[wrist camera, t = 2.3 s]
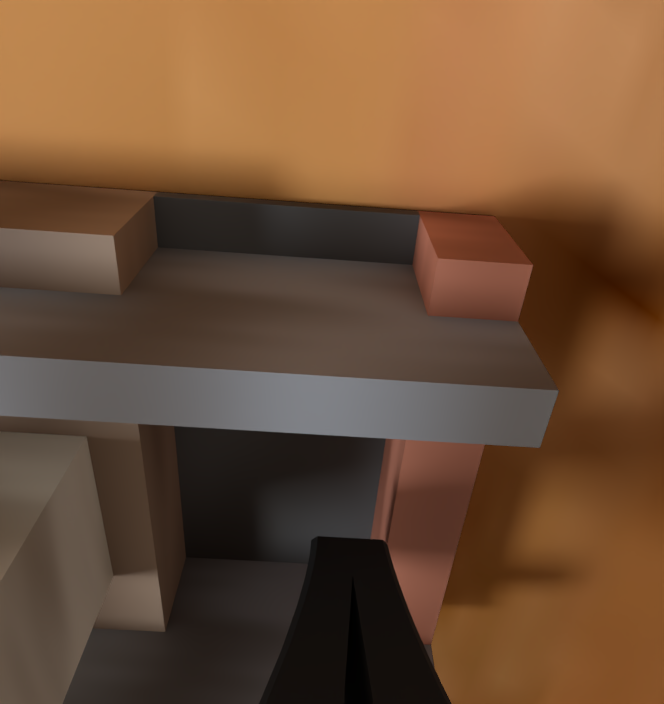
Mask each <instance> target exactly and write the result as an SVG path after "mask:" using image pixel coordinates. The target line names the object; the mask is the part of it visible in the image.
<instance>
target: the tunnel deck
mask: <svg viewBox="0 0 664 704" xmlns="http://www.w3.org/2000/svg"><path fill="white" fill-rule="evenodd" d="M532 268H533V264H532V263H531V262H530V260H529V259H528V258H527V256H526V255H525V254H524V253H523V251H522V250H521V249H520V248H519V246H518V245H517V244H516V243H515V241H514V240H513V239H512V238H511V236H510V235H509V234H508V232H507V231H506V230H505V229H504V227H503V226H502V225H501V224H500V222H499V221H498V220H497V219H496V217H495V216H484V215H470V214H456V213H442V212H429V211H415V210H401V209H387V208H373V207H359V206H345V205H332V204H318V203H304V202H290V201H276V200H262V199H248V198H235V197H221V196H207V195H193V194H179V193H165V192H152V191H138V190H124V189H110V188H96V187H82V186H68V185H55V184H41V183H27V182H13V181H0V431H1V432H18V433H35V434H52V435H69V436H86V437H87V442H88V447H89V452H90V457H91V462H92V468H93V473H94V478H95V483H96V488H97V493H98V499H99V504H100V509H101V514H102V519H103V525H104V530H105V535H106V540H107V545H108V551H109V556H110V561H111V566H112V571H113V578H112V581H111V583H110V586H109V588H108V591H107V593H106V596H105V598H104V601H103V603H102V606H101V608H100V611H99V613H98V616H97V618H96V621H95V623H94V626H93V628H92V631H91V633H90V636H89V638H88V641H87V643H86V646H85V648H84V651H83V653H82V656H81V658H80V661H79V664H78V666H77V669H76V671H75V674H74V676H73V679H72V681H71V684H70V686H69V689H68V691H67V694H66V696H65V699H64V701H63V704H259V702H260V700H261V697H262V695H263V693H264V690H265V688H266V686H267V683H268V681H269V678H270V676H271V674H272V671H273V669H274V666H275V664H276V662H277V659H278V657H279V654H280V652H281V649H282V647H283V644H284V641H285V638H286V635H287V633H288V630H289V627H290V624H291V621H292V618H293V615H294V613H295V610H296V607H297V604H298V600H299V597H300V593H301V590H302V587H303V583H304V579H305V575H306V571H307V566H308V561H309V556H310V547H311V540H312V539H314V538H315V537H317V536H325V537H343V538H361V539H379V540H383V541H384V542H386V543H387V544H388V548H389V552H390V556H391V559H392V563H393V566H394V569H395V572H396V575H397V579H398V581H399V584H400V587H401V590H402V593H403V595H404V598H405V601H406V603H407V606H408V609H409V611H410V614H411V616H412V619H413V621H414V623H415V626H416V628H417V631H418V633H419V635H420V637H421V640H422V642H423V644H424V647H425V649H426V651H427V653H428V656H429V658H430V660H431V662H432V665H433V667H434V662H433V655H432V649H431V642H432V639H433V635H434V631H435V628H436V624H437V620H438V617H439V613H440V609H441V605H442V602H443V598H444V594H445V591H446V587H447V583H448V579H449V576H450V572H451V568H452V565H453V561H454V557H455V553H456V550H457V546H458V542H459V539H460V535H461V531H462V527H463V524H464V520H465V516H466V513H467V509H468V505H469V502H470V498H471V494H472V490H473V487H474V483H475V479H476V476H477V472H478V468H479V464H480V461H481V457H482V453H483V450H484V446H485V445H502V446H518V447H535V448H540V446H541V443H542V440H543V437H544V434H545V431H546V428H547V425H548V422H549V419H550V416H551V413H552V410H553V407H554V404H555V401H556V398H557V395H558V392H559V390H558V388H557V386H556V385H555V383H554V381H553V380H552V378H551V376H550V375H549V373H548V371H547V370H546V368H545V366H544V365H543V363H542V361H541V360H540V358H539V356H538V354H537V353H536V351H535V349H534V348H533V346H532V344H531V343H530V341H529V339H528V338H527V336H526V334H525V333H524V331H523V329H522V328H521V326H520V324H519V323H518V320H519V316H520V312H521V309H522V305H523V301H524V298H525V294H526V290H527V286H528V283H529V279H530V275H531V272H532Z"/></svg>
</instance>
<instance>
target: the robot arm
mask: <svg viewBox="0 0 664 704" xmlns="http://www.w3.org/2000/svg"><path fill="white" fill-rule="evenodd" d="M259 704H451V702H450V700H449V698H448V696H447V694H446V692H445V690H444V688H443V686H442V684H441V682H440V679H439V677H438V675H437V673H436V671H435V669H434V667H433V665H432V662H431V660H430V658H429V656H428V653H427V651H426V649H425V647H424V644H423V642H422V640H421V637H420V635H419V633H418V631H417V628H416V626H415V623H414V621H413V619H412V616H411V614H410V611H409V609H408V606H407V603H406V601H405V598H404V595H403V593H402V590H401V587H400V584H399V581H398V579H397V575H396V572H395V569H394V566H393V563H392V559H391V556H390V552H389V548H388V544H387V543H386V542H384V541H383V540H379V539H361V538H343V537H325V536H317V537H315V538H314V539H312V540H311V547H310V556H309V561H308V566H307V571H306V575H305V579H304V583H303V587H302V590H301V593H300V597H299V600H298V604H297V607H296V610H295V613H294V615H293V618H292V621H291V624H290V627H289V630H288V633H287V635H286V638H285V641H284V644H283V647H282V649H281V652H280V654H279V657H278V659H277V662H276V664H275V666H274V669H273V671H272V674H271V676H270V678H269V681H268V683H267V686H266V688H265V690H264V693H263V695H262V697H261V700H260V702H259Z"/></svg>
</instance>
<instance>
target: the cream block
mask: <svg viewBox="0 0 664 704" xmlns="http://www.w3.org/2000/svg"><path fill="white" fill-rule="evenodd" d="M112 578H113V571H112V566H111V561H110V556H109V551H108V545H107V540H106V535H105V530H104V525H103V519H102V514H101V509H100V504H99V499H98V493H97V488H96V483H95V478H94V473H93V468H92V462H91V457H90V452H89V447H88V442H87V437H86V436H69V435H52V434H35V433H18V432H1V431H0V704H63V701H64V699H65V696H66V694H67V691H68V689H69V686H70V684H71V681H72V679H73V676H74V674H75V671H76V669H77V666H78V664H79V661H80V658H81V656H82V653H83V651H84V648H85V646H86V643H87V641H88V638H89V636H90V633H91V631H92V628H93V626H94V623H95V621H96V618H97V616H98V613H99V611H100V608H101V606H102V603H103V601H104V598H105V596H106V593H107V591H108V588H109V586H110V583H111V581H112Z"/></svg>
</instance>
